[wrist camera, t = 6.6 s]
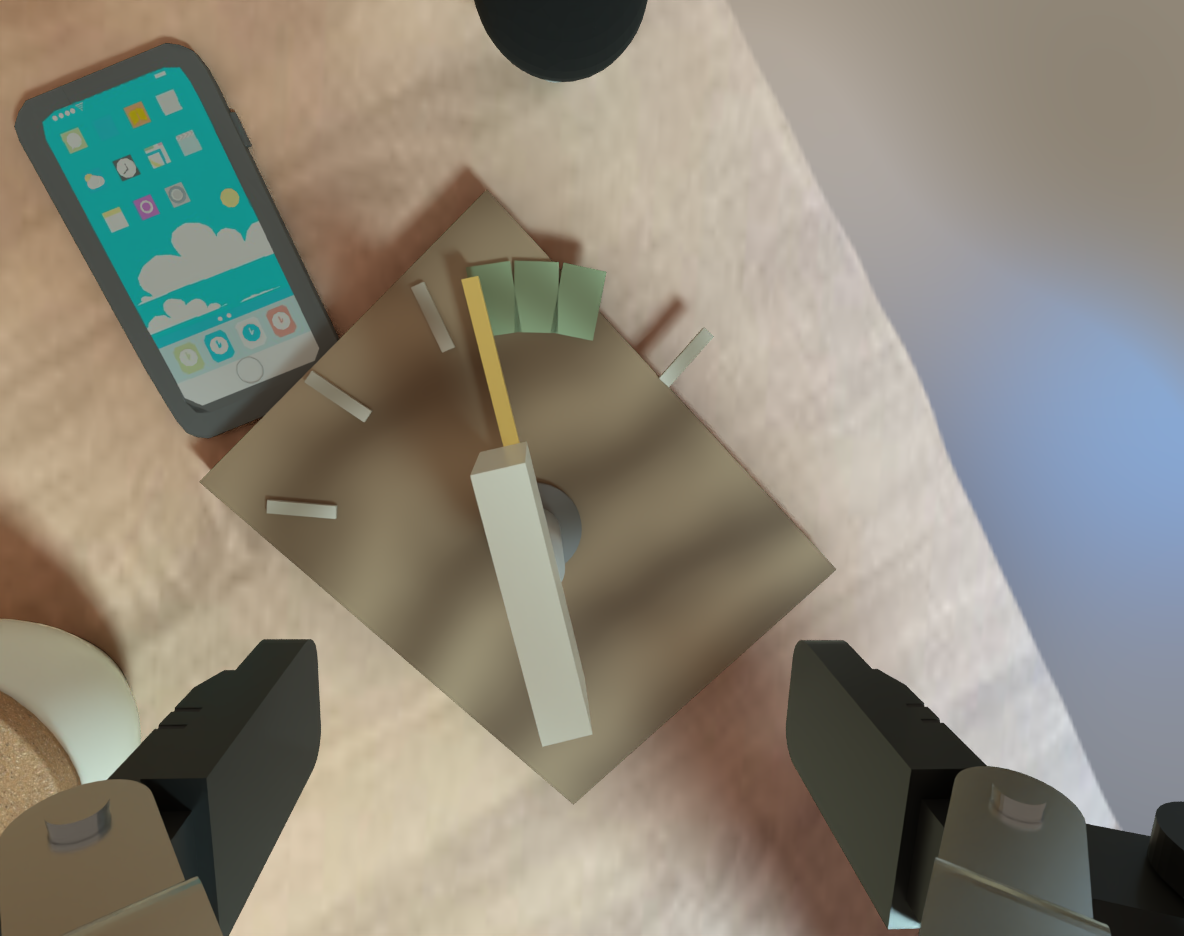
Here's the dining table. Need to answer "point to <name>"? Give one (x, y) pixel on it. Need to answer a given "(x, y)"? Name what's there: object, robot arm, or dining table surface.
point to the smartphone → (180, 234)
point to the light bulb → (561, 34)
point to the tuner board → (566, 485)
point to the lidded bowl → (58, 715)
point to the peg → (527, 557)
